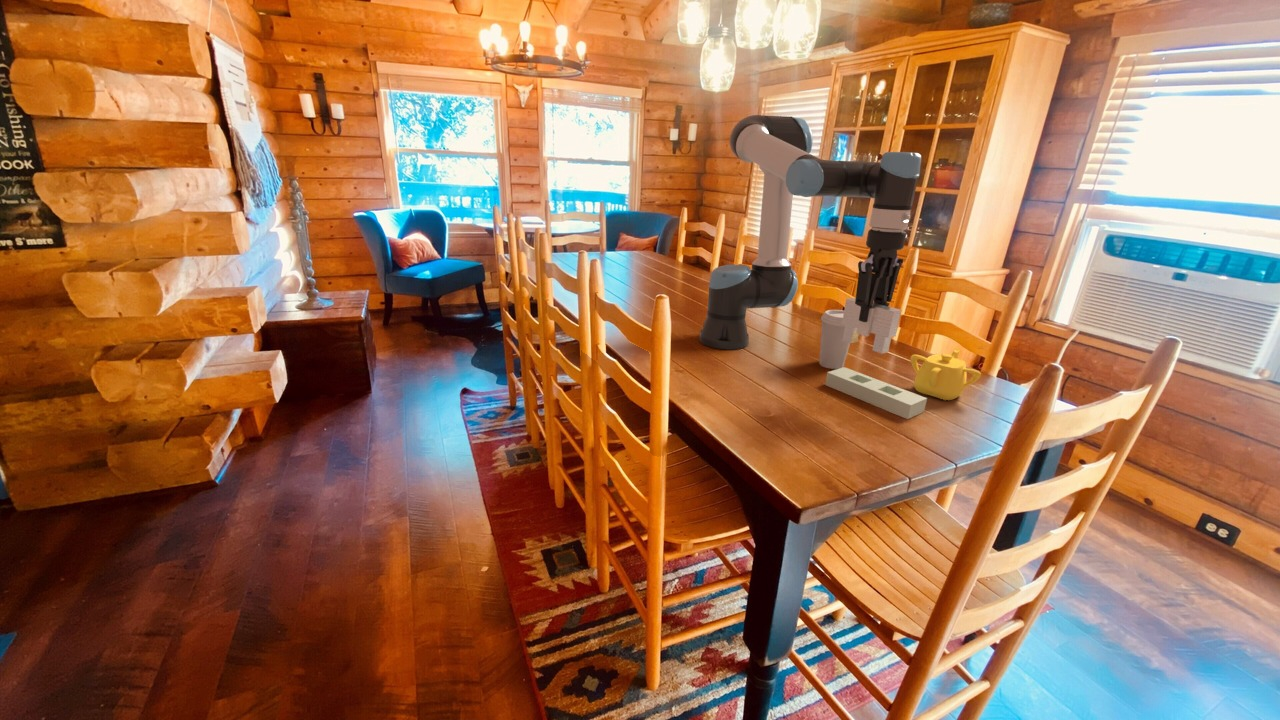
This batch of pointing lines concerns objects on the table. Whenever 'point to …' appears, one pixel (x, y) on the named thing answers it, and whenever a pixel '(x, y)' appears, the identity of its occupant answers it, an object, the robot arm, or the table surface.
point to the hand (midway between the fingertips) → (867, 333)
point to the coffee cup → (833, 340)
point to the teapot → (942, 375)
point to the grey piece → (872, 324)
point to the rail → (876, 392)
